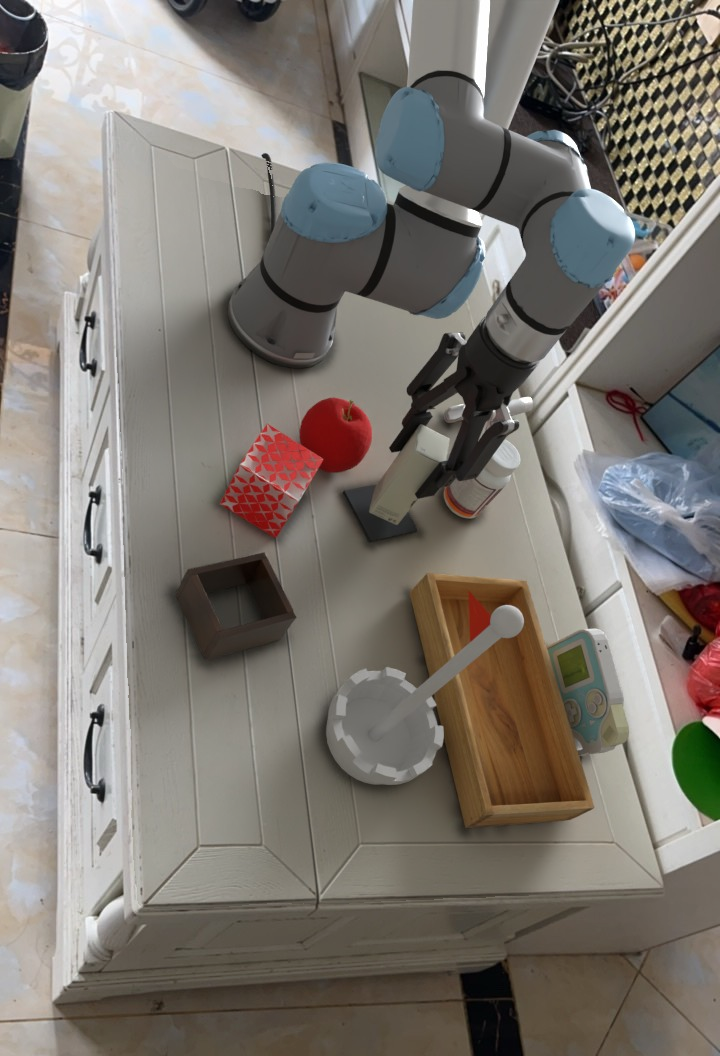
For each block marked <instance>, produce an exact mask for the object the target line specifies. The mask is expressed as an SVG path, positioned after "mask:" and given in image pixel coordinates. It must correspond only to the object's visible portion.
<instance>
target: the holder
mask: <svg viewBox="0 0 720 1056" xmlns="http://www.w3.org/2000/svg"><path fill="white" fill-rule="evenodd" d="M243 585H246V586H247V588H248V590H249V591H250V594H251V596H252V598H253V601H254V602H255V604H256V606H257V608H258V610H259V613H260V615H261V617H262V619H260V620H257V621H253V622H249V623H246V624H242V625H238V626H234V627H230V628H227V629H224V628H223V626H222V625H221V624H222V623H220V620H219V618H218V616H217V614H216V612H215V609H214V607H213V605H212V603H211V600H210V598H209V596H208V594H209V593H213V592H214V593H215V592H217V591H222V590H226V589H230V588H234V587H238V586H239V587H240V586H243ZM174 596H175V598H176V600H177V602H178V604H179V606H180V609H181V611H182V613H183V615H184V617H185V619H186V622H187V624H188V627H189V628H190V631H191V633H192V635H193V637H194V639H195V641H196V643H197V646H198V648H199V650H200V652H201V655H202V657H203V659H204V661H205V662H207V661H211V660H214V659H217V658H221V657H224V656H228V655H232V654H234V653H238V652H242V651H245V650H249V649H252V648H255V647H260V646H262V645H267V644H270V643H273V642H277V641H280V640H281V639H282V637H284V635H285V634H286V633H287V631H288V630H289V628H290V627H291V626H292V625H293V623H294V622H295V621H296V619H297V615H296V613H295V611H294V609H293V606H292V605H291V602H290V600H289V599H288V597H287V594H286V592H285V591H284V589H283V586H282V585H281V582H280V580H279V578H278V576H277V574H276V571H275V570H274V568H273V566H272V564H271V562H270V560H269V558H268V556H267V554H266V552H265V551H264V552H260V553H254V554H251V555H250V554H249V555H246V556H242V557H237V558H233V559H228V560H223V561H219V562H215V563H210V564H205V565H201V566H196V567H192V568H188V569H187V570H186V571H185V573H184V576H183V577H182V580H181V581H180V584H179V585H178V588H177V590H176V591H175V593H174Z"/></svg>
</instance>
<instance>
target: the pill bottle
mask: <svg viewBox="0 0 720 1056" xmlns="http://www.w3.org/2000/svg"><path fill="white" fill-rule="evenodd" d="M520 455H521V454H520V452H519V450H518V449H517V448H516V447H515V445H514V444H513V443H512V442H510V441H509V440H507V439H505V440H504V441H503V442H502V444H501V445H500V446H499V448H498V449H497V451H496V452H495V453H494V455H493V456H492V458H491V459H490V460H489V462H488V463H487V465H486V466H485V467H484V469H483V470H482V471H481V473H480V474H479V476H478V477H477V478H475V479H470V480H465V481H458V480H457V478H456V479H455V480H454V481H453V482H452V484H451V485H450V486H448V487H444V490H443V500H444V502H445V505H446V506H447V507H448V509H449V510H450V511H451V512H452V513H453V514H455V515H456V516H458V517H460V518H463V519H475V518H476V517H478V516H479V515H480V514H481V513H482V512H483V511H484V510H485V509H486V508H487V507H488V506H489V505H490V503H492V501H493V500H494V499H495V498H496V497H497V496H498V495H499V494H500V493H501V491H503V489H505V487H506V486H507V485H508V484H509V482H510V480H511V478H512V477H511V476H512V474H513V473H514V472H515V471H516V470H517V468H519V466H520V464H521V456H520Z"/></svg>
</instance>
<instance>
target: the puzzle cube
mask: <svg viewBox="0 0 720 1056" xmlns="http://www.w3.org/2000/svg"><path fill="white" fill-rule="evenodd" d="M322 461H323V459H322V458H321V457H319V456H318V455H316V454H315V453H313V452H311V451H310V450H308V449H307V448H305V447H304V446H302V445H301V443H299V442H297V441H296V440H294V439H293V438H291V437H290V436H288V435H286V434H284V432H282V431H280V430H279V429H276V428H275V427H274V426H272V425H270V424H269V423H266V424H265V425H264V427H263V429H262V430H261V432H260V433H259V435H258V436H257V438H256V439H255V441H254V442H253V444H252V445H251V447H250V448H249V450H248V451H247V453H246V454H245V456H244V457H243V458H242V460H241V461H240V463H239V465H238V467H237V469H236V471H235V473H234V475H233V476H232V478H231V480H230V483H229V484H228V486H227V489H226V490H225V492H224V495H223V497H222V499H221V500H220V503H219V505H220V506H222V507H223V508H225V509H226V510H229V511H230V512H232V513H234V514H235V515H237V516H239V517H240V518H242V519H243V520H245V521H247V522H248V523H250V524H251V525H253V526H255V527H257V528H258V529H260V530H261V531H263V532H264V533H266V534H268V535H270V536H271V537H273V538H275V539H277V537H279V534H280V533H281V531H282V530H283V528H284V526H286V525H285V524H286V523H287V522H288V520H289V519H290V517H291V515H292V513H293V512H294V511H295V509H296V507H297V505H298V504H299V503H300V500H301V499H302V497H303V495H304V494H305V492H306V490H307V489H308V487H309V485H310V483H311V482H312V481H313V479H314V477H315V475H316V473H317V471H318V470H319V466H320V465H321V463H322Z"/></svg>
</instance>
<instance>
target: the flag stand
mask: <svg viewBox="0 0 720 1056" xmlns="http://www.w3.org/2000/svg"><path fill="white" fill-rule="evenodd" d="M468 592H469V623H470V643H469V644H468V645H467V646H465V647H464V648H463V649H462V650H461V651H460V652H459V653H457V654H456V655H455V656H454V657H453V658H452V659H451V660H449V661H448V662H447V663H446V664H445V665H444V666H442V667H441V668H440V669H439V670H438V671H437V672H436V673H434V674H433V675H432V676H431V677H428V678H427V679H426V680H425V681H424V682H423V683H422V684H420V685H419V686H418V687H415V685H413V684H412V683H411V682H410V681H408V680H406V675H407V673H406V672H404V671H402V670H399V669H397V668H392V667H389V666H385V667H384V668H383V669H382V670H368V669H367V668H363V669H361V670H358V671H356V672H355V673H354V674H352V675H351V676H349V678H348V679H347V680H345V682H343V684H342V685H341V686H340V687H339V688H338V689H337V691H336V692H335V693H334V695H333V696H332V698H331V701H330V704H329V707H328V713H327V720H326V727H325V735H326V742H327V746H328V749H329V752H330V753H331V755H332V757H333V759H334V760H335V762H336V763H337V764H338V766H339V767H340V768H341V769H342V771H344V772H345V773H346V774H348V775H349V776H350V777H352V778H354V779H355V780H357V781H360V782H362V783H364V784H369V785H387V786H394V785H402V784H405V783H408V782H410V781H412V780H414V779H416V778H417V777H419V776H420V775H422V774H423V773H425V772H426V771H427V770H428V769H430V768H431V766H433V765H434V763H433V762H434V759H435V757H436V755H437V752H438V750H440V749H441V748H443V744H444V729H443V726H441V725H438V721H437V717H436V715H435V712H434V710H433V709H434V708H436V707H437V706H436V705H437V704H436V702H435V698H434V697H433V696H434V693H436V692H437V691H438V690H439V689H440V688H442V687H443V686H444V685H445V684H446V683H447V682H449V681H450V680H451V679H452V678H453V677H455V676H456V675H457V674H458V673H459V672H461V671H462V670H463V669H464V668H465V667H467V666H468V665H469V664H470V663H471V662H473V661H474V660H475V659H476V658H477V657H479V656H480V655H481V654H482V653H483V652H485V651H486V650H487V649H488V648H489V647H491V646H492V645H493V644H494V643H495V642H497V641H498V640H499V639H500V638H501V637H502V638H512V637H514V636H516V635H517V634H519V633H520V631H521V630H522V628H523V624H524V619H523V615H522V613H521V612H520V610H519V609H517V608H516V607H514V606H511V605H503V606H500V607H498V608H497V609H496V610H495V611H494V612H493V613H492V615H490V614H489V613H488V612H487V610H486V609H485V608H484V607H483V606H482V605H481V604H480V603H479V601H478V600H477V599H476V598H475V597H474V596H473V595H472V593H471V592H470V591H469V590H468Z"/></svg>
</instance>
